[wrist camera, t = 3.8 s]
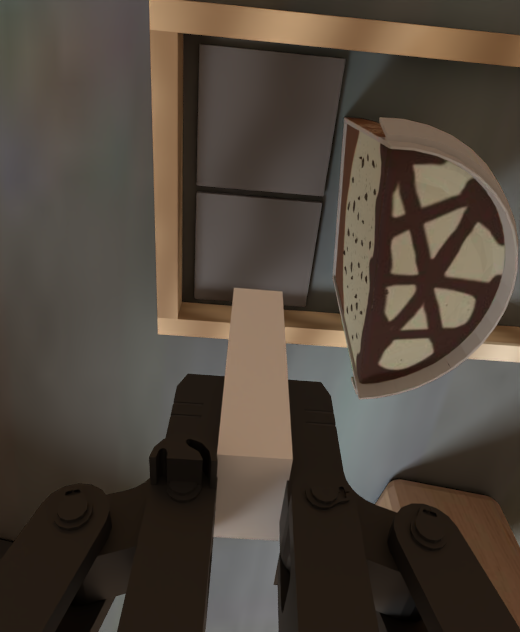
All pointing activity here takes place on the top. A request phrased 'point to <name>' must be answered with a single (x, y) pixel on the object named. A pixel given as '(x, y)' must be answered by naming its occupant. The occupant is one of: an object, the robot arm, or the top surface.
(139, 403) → the top surface
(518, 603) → the block
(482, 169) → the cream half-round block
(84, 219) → the top surface
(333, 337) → the trap channel
